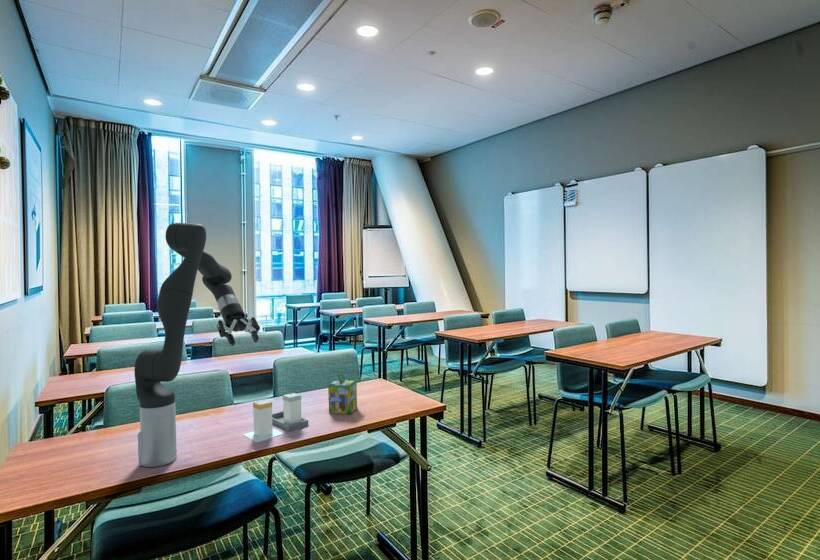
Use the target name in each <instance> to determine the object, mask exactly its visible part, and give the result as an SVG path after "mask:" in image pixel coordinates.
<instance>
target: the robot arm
mask: <svg viewBox="0 0 820 560" xmlns="http://www.w3.org/2000/svg"><path fill="white" fill-rule="evenodd" d="M165 241H166V244H167V246H168V247H169V248H170V249H171V250H172V251H174V252H175V253H177V254H179V255H180V257H182V258H183V260H182V262H181V263H180V264H179V265H178V266H177V267H176V268H175V269H174V271H172V272H171V273H170V274H169V275H168V276H167V278H166V279H165V280H164V281H163V282H162V284H161V286H160V289H159V292H158V293H159V294H158V297H157V300H156V301H157V302H156V311H157V314H158V317H159V320H160V321H161V323H162V326H163V329H164V342H163V347H162V349H148V350H147V349H146V350H143V351H141V352H140V353H139V354H138V355H137V357H136V359H135V362H134V369H133V370H134V371H133V373H134V381H135V382H134V385H135V392H136V398H137V400H138V402H139V427H140V428H139V429H140V431H139V432H138V433H137V455H138V456H137V457H138V467H145V468H146V467H147V468H155V467H156V468H157V467H161V466H164V465H168V464H171V463H173V462H175V461H176V459H177V458H178V455H177V453H178V452H177V451H178V450H177V424H176V423H177V420H176V419H177V418H176V394H175V392H174V391H172V390H171V389H170V388H169V389H168V388H167V387H166V386H164V385H163V384H162V383H163V382H166V383H167V382H172V381H174V380H175V379H176V378H177V376H178V374H179V372H180V370H181V365H182V359H183V348H184V339H185V332H186V325H187V321H188V316H189V313H190V307H191V304H192V298H193V294H194V289H195V282H196V277H197V274H198V272H199V273H200V274H201V275H202V276H201V281H202V283H203V285H204V286H205V287H206V288H207V289H208V291H210V293H212V295H213V296H214V299H215V301H216V304H217V306H218V312H219V313H220V315H221V318H222V319H223V320H220V319H219V320H218V322H217V325H216V328H217V330H218V334H219V336H220V338H226V339H227V341H228V344H229V345H231V346H235V344H236V339H235V338H234V336H233V332H234V333H235V332H236V333H237V332H245V333H248V334H250V337H251V338H252V340H253V343H258V341H259V340H260V337H259V335H258V333H259V331H260V329H261V327H260V325H259V323H258V322H257V319H256V317H251V318H247V317H246V313H245V312H244V310H243V307H242V305H241V303H240V301H239V299H238V298H237V296H236V294H235V291H234V289H233V287H232V286H231V285H230V284H228V283H230V282H231V281H232V278H233V277H232V272H231V271H230V269H228V267H226V266H225V265H223V264H222V263H218V261H217V260H216V259H215V257H214V256H213V255H212V254H211V253H210V252H207V251H206V250H204V249H205V247H206V241H207V231H206V228H205V226H204V225H203V224H201V223H200V224H199V223H190V222H173V223H171V224H169V225H168V226H167V228H166V230H165ZM225 327H226V328H228V330H227V331H226V329H225Z"/></svg>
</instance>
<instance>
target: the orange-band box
mask: <svg viewBox="0 0 820 560" xmlns="http://www.w3.org/2000/svg"><path fill="white" fill-rule="evenodd" d="M252 408H253V409H252V410H253V416H252V417H253V431H254V435H256V436H258V437H260V438H261V437H264V436H267V435H270V434H273V424H272V414H273V402H272V401H271V400H269V399H265V398H264V399H262V400H261V399H260V400H258V401H253V402H252Z"/></svg>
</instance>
